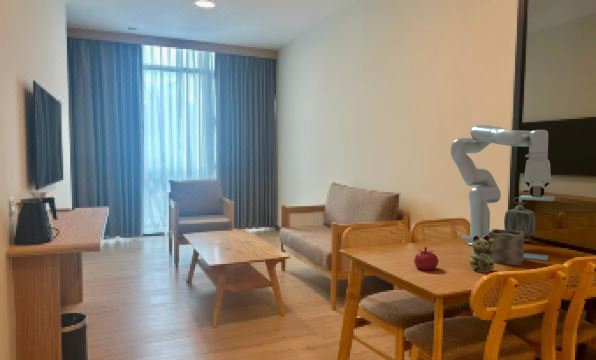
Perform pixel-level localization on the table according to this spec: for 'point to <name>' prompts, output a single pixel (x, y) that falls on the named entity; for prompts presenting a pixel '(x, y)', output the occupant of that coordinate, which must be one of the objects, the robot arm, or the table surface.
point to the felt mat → (535, 257)
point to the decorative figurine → (482, 254)
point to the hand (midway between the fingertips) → (536, 196)
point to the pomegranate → (426, 260)
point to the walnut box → (507, 246)
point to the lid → (536, 195)
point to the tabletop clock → (520, 220)
